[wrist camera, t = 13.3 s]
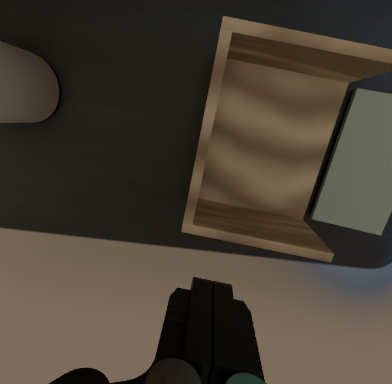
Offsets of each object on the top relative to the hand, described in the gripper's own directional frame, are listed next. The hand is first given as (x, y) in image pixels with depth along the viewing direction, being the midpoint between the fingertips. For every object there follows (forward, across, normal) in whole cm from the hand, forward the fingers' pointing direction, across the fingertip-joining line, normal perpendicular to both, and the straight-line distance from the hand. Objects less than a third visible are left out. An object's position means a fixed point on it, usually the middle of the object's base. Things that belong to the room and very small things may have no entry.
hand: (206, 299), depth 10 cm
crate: (+27, -6, -5) cm, 28 cm away
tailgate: (+26, -15, -5) cm, 30 cm away
